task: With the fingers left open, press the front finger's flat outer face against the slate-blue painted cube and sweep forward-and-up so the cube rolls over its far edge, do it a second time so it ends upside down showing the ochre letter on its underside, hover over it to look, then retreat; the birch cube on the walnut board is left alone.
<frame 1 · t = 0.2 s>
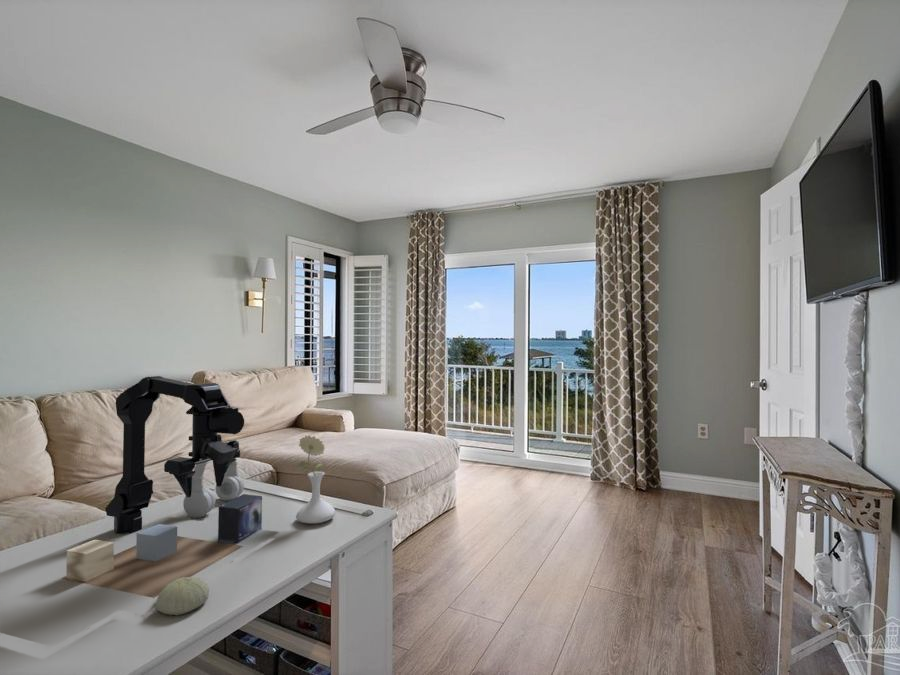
hand: (204, 491, 120), 14 cm above the table, fingers open, 9 cm apart
birch cube: (90, 573, 103), point 1 cm above the table, touching walnut board
flower in vase: (314, 520, 138), on the table
walnut board: (158, 566, 109), on the table
slate cube: (157, 554, 112), point 1 cm above the table, touching walnut board
sea urchin shell: (183, 606, 93), on the table
small box: (240, 540, 124), on the table
headphones: (215, 508, 149), on the table
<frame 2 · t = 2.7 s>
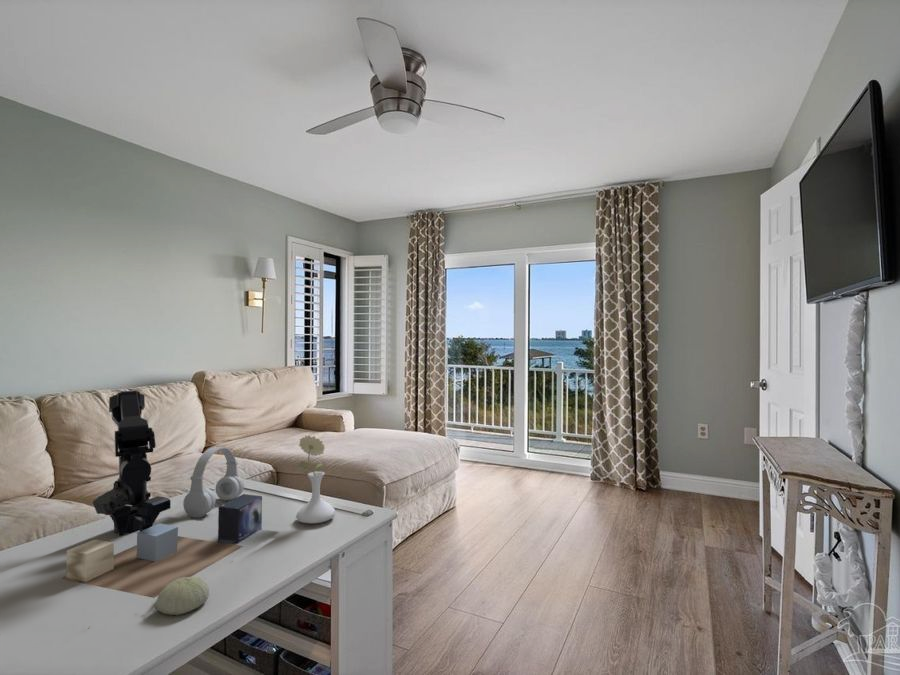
hand: (132, 537, 115), 4 cm above the table, fingers open, 7 cm apart
slate cube: (157, 554, 112), point 1 cm above the table, touching gripper, walnut board
everything else where it was.
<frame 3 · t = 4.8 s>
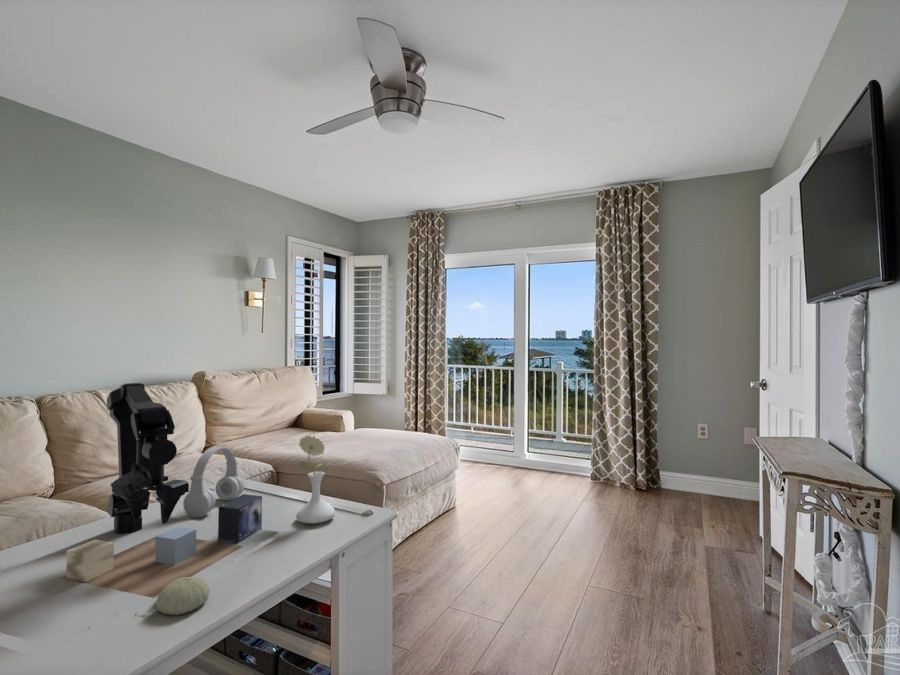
hand: (150, 521, 113), 9 cm above the table, fingers open, 9 cm apart
slate cube: (166, 543, 112), point 4 cm above the table, tilted 90°, touching walnut board
everything else where it was.
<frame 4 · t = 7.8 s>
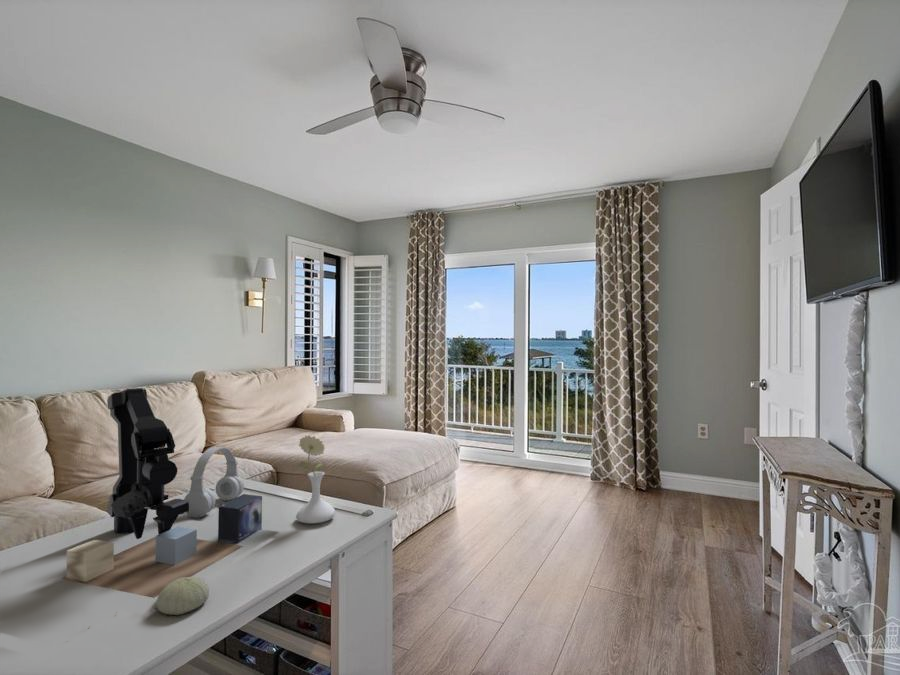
hand: (150, 540, 113), 4 cm above the table, fingers open, 7 cm apart
slate cube: (166, 543, 111), point 4 cm above the table, tilted 91°, touching gripper, walnut board
everything else where it was.
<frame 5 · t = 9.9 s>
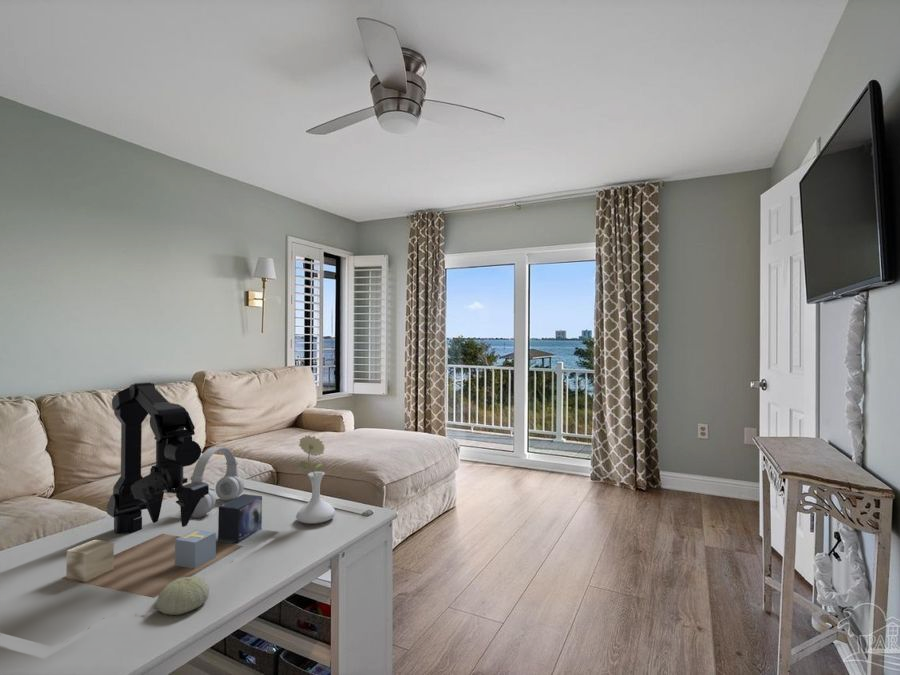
hand: (169, 524, 111), 9 cm above the table, fingers open, 9 cm apart
slate cube: (195, 535, 109), point 7 cm above the table, tilted 180°, touching walnut board
everything else where it was.
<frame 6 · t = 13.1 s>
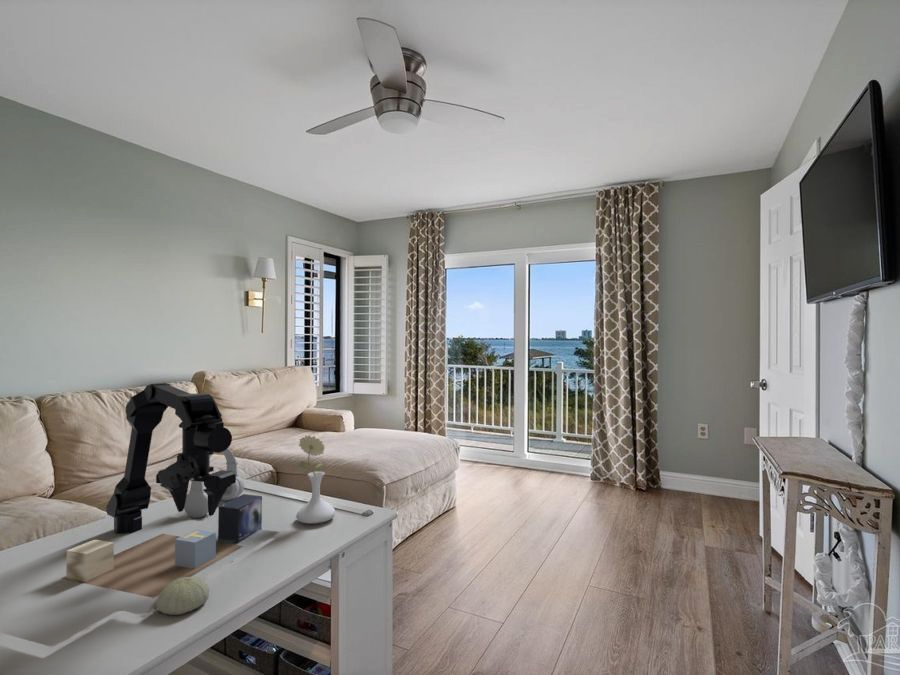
hand: (195, 513, 109), 13 cm above the table, fingers open, 9 cm apart
nothing on the table moved.
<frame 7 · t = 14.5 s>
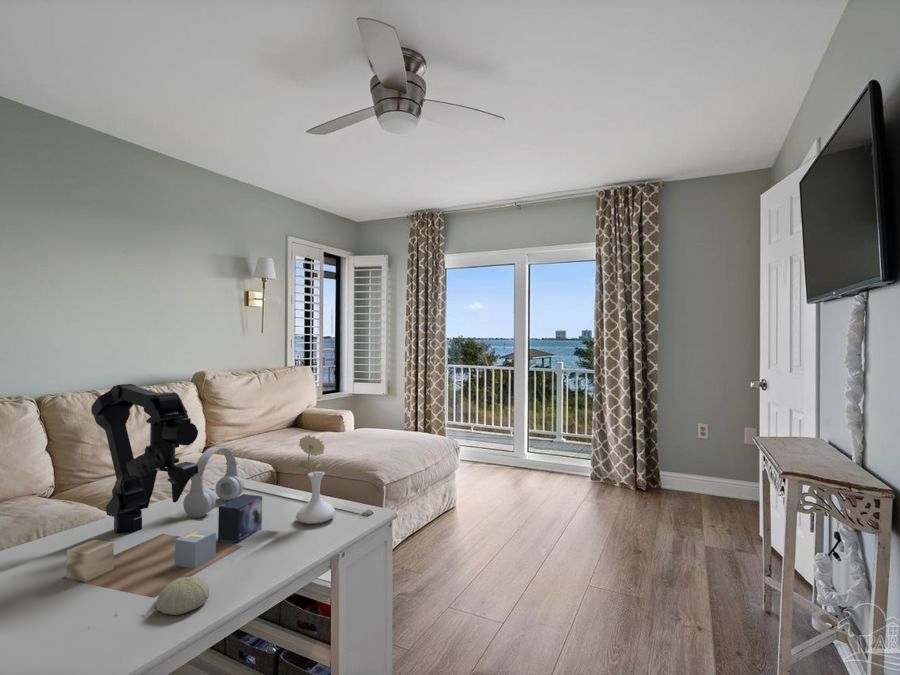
hand: (161, 499, 121), 12 cm above the table, fingers open, 9 cm apart
nothing on the table moved.
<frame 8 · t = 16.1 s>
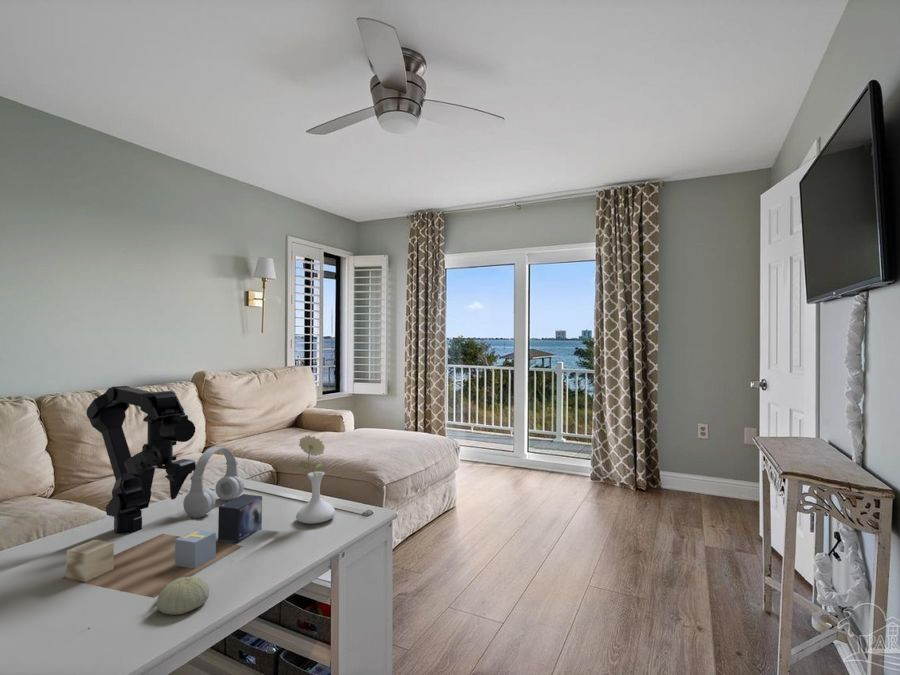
hand: (159, 497, 122), 12 cm above the table, fingers open, 9 cm apart
nothing on the table moved.
at the end: slate cube inside the target area (1.0 cm from its centre), point 7.2 cm above the table; slate cube tilted 180°; birch cube moved 0.0 cm from its start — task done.
